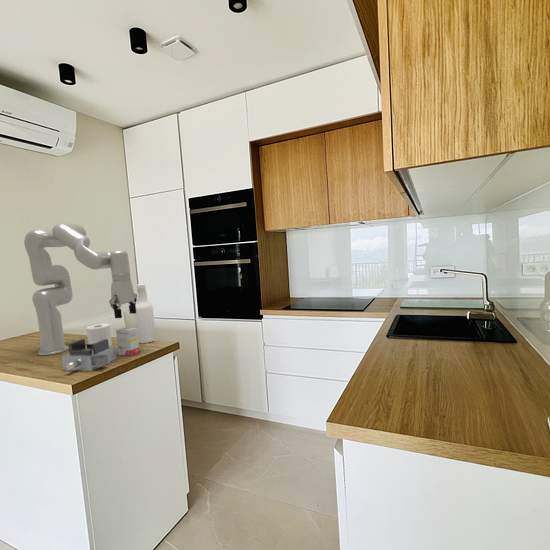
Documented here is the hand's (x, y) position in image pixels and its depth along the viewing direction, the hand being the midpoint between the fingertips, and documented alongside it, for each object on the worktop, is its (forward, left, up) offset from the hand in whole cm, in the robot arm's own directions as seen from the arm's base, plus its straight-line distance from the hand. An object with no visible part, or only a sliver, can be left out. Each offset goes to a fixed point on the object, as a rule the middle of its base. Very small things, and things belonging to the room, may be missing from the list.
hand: (126, 315), depth 149 cm
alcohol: (-4, +19, -18) cm, 27 cm away
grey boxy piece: (-7, -16, -18) cm, 25 cm away
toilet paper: (-19, +4, -18) cm, 27 cm away
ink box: (0, 0, -18) cm, 18 cm away
